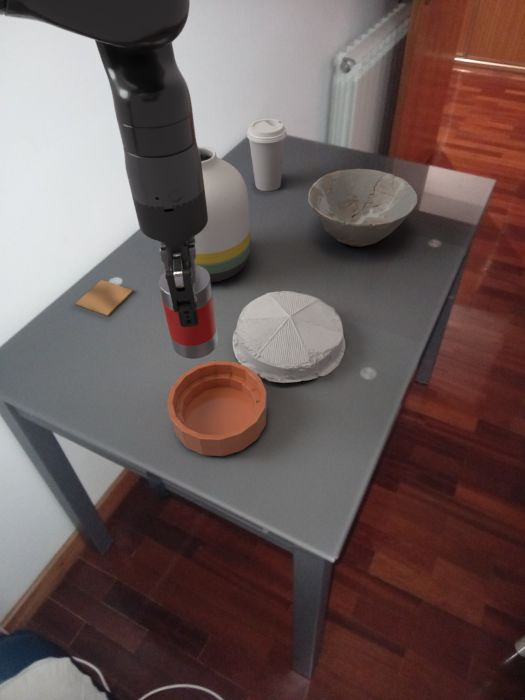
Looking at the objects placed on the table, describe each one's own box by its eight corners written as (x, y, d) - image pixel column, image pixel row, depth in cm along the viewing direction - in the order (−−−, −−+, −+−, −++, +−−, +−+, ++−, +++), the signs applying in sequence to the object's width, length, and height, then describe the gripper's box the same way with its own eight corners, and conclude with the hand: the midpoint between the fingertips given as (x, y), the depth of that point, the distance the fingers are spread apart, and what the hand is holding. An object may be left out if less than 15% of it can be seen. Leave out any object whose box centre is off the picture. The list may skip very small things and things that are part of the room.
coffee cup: (288, 193, 122) (289, 132, 112) (250, 195, 122) (247, 135, 111) (284, 174, 129) (284, 116, 118) (248, 177, 129) (245, 118, 118)
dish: (238, 473, 70) (236, 454, 66) (154, 435, 75) (148, 416, 71) (282, 399, 79) (282, 379, 75) (204, 369, 83) (200, 349, 80)
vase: (264, 250, 106) (260, 140, 89) (231, 299, 96) (220, 185, 78) (195, 235, 111) (178, 128, 93) (156, 280, 100) (130, 168, 83)
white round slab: (273, 292, 97) (272, 264, 92) (364, 331, 88) (369, 303, 83) (209, 355, 86) (204, 327, 81) (306, 406, 78) (307, 378, 73)
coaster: (108, 316, 93) (107, 314, 93) (75, 304, 96) (75, 303, 96) (133, 291, 98) (133, 290, 98) (102, 281, 101) (101, 279, 100)
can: (202, 365, 65) (192, 302, 57) (163, 349, 67) (147, 287, 59) (226, 334, 68) (219, 271, 60) (188, 321, 71) (177, 258, 63)
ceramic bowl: (411, 213, 115) (420, 173, 107) (403, 273, 100) (412, 231, 92) (318, 202, 119) (320, 162, 112) (296, 257, 104) (298, 216, 97)
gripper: (133, 156, 55) (159, 274, 67) (126, 226, 45) (159, 350, 58) (200, 150, 56) (214, 269, 68) (207, 218, 46) (222, 342, 58)
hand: (188, 305), depth 63 cm, fingers closed on can, 6 cm apart
